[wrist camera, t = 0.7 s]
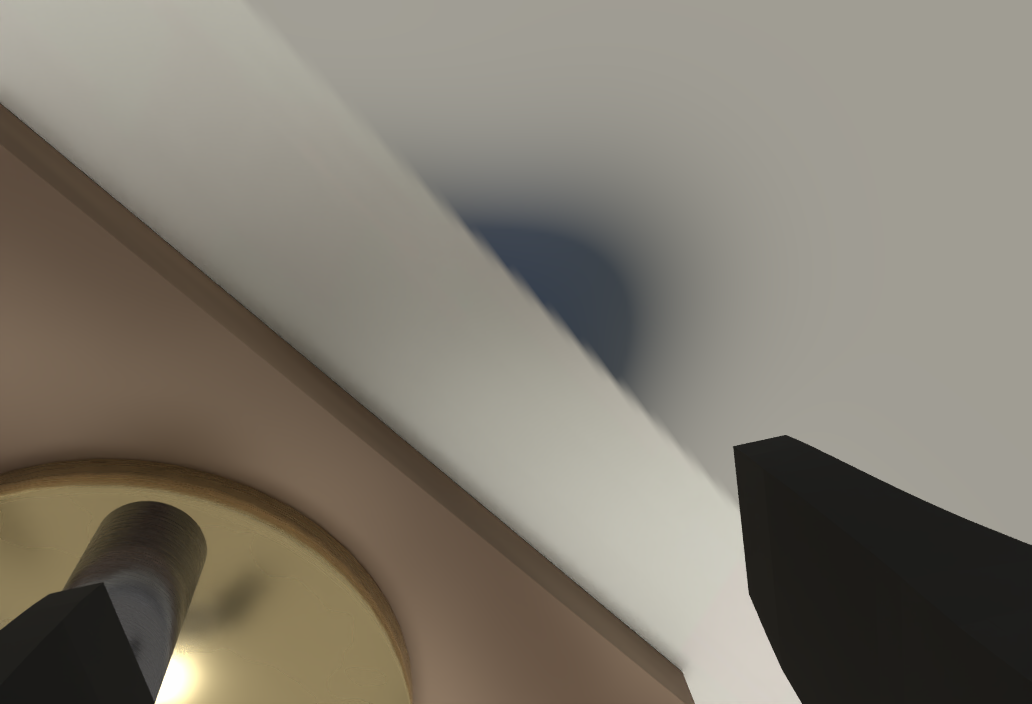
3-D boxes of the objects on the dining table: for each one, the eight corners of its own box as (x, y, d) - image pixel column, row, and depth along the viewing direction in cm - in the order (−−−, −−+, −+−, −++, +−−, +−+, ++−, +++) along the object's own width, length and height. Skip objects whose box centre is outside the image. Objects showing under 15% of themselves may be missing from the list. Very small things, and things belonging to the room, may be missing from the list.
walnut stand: (308, 978, 26) (294, 1119, 23) (-425, 577, 19) (-592, 695, 16) (682, 672, 24) (726, 781, 20) (-17, 89, 17) (-117, 114, 14)
